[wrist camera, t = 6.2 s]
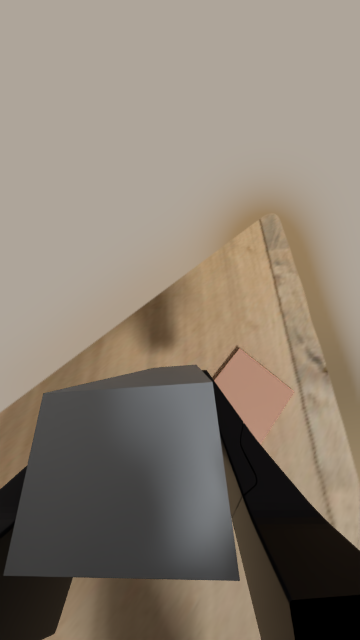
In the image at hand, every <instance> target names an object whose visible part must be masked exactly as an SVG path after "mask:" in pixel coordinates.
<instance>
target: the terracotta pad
mask: <svg viewBox="0 0 360 640" xmlns="http://www.w3.org/2000/svg"><path fill="white" fill-rule="evenodd" d="M214 381H215V383H216V384H217V385H218V387H219V388H220V390H221V391H222V392H223V394H224V395H225V397H226V398H227V399H228V401H229V402H230V404H231V405H232V406H233V408H234V409H235V411H236V412H237V413H238V415H239V416H240V418H241V419H242V420H243V423H245V424H246V426H247V427H248V429H249V430H250V431H251V433H252V434H253V435H254V437H255V438H256V439H257V441H258V442H259V443H260V445H261V443H262V442H263V440H264V439H265V437H266V435H267V434H268V432H269V431H270V429H271V428H272V426H273V425H274V423H275V421H276V420H277V418H278V417H279V415H280V414H281V412H282V411H283V409H284V407H285V406H286V404H287V403H288V401H289V400H290V398H291V396H292V395H293V393H294V391H293V390H292V389H291V388H289V387H288V386H287V385H286V384H284V383H283V382H282V381H280V380H279V379H278V378H277V377H275V376H274V375H273V374H272V373H270V372H269V371H268V370H267V369H265V368H264V367H263V366H262V365H260V364H259V363H258V362H257V361H255V360H254V359H253V358H252V357H250V356H249V355H248V354H246V353H245V352H244V351H243V350H241V349H240V348H239V349H238V350H237V351H236V353H235V354H234V355H233V356H232V358H231V359H230V360H229V362H228V363H227V364H226V365H225V367H224V368H223V369H222V371H221V372H220V373H219V374H218V376H217V377H216V378H215V379H214Z"/></svg>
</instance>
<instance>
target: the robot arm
mask: <svg viewBox="0 0 360 640" xmlns="http://www.w3.org/2000/svg"><path fill="white" fill-rule="evenodd" d="M202 371H203V372H204V374H205V375H206V376H207V377H208V378H209V379H210V380H211V381H212V382H213V389H214V396H215V403H216V411H217V418H218V425H219V432H220V440H221V447H222V454H223V462H224V469H225V476H226V484H227V491H228V498H229V505H230V513H231V517H232V522H233V526H234V530H235V534H236V538H237V542H238V546H239V550H240V555H241V559H242V563H243V567H244V571H245V575H246V579H247V583H248V587H249V591H250V595H251V600H252V604H253V608H254V612H255V616H256V620H257V624H258V628H259V632H260V636H261V640H360V550H358V549H357V548H356V547H355V546H354V545H353V544H352V543H351V542H349V541H348V540H347V539H346V538H345V537H344V536H343V535H342V534H341V533H339V532H338V531H337V530H336V529H335V528H334V527H333V526H332V525H331V524H330V523H329V522H328V521H326V520H325V519H324V518H323V517H322V516H321V514H320V513H319V512H318V511H317V510H316V509H315V508H314V507H313V506H312V505H311V504H310V503H309V502H308V500H307V499H306V498H305V497H304V496H303V495H302V494H301V492H300V491H299V490H298V489H297V488H296V486H295V485H294V484H293V483H292V482H291V481H290V479H289V478H288V477H287V476H286V475H285V473H284V472H283V471H282V470H281V469H280V468H279V466H278V465H277V464H276V463H275V462H274V460H273V459H272V458H271V457H270V456H269V454H268V453H267V452H266V451H265V449H264V448H263V447H262V446H261V445H260V443H259V442H258V441H257V439H256V438H255V437H254V435H253V434H252V433H251V431H250V430H249V429H248V427H247V426H246V424H245V423H243V420H242V419H241V418H240V416H239V415H238V413H237V412H236V411H235V409H234V408H233V406H232V405H231V404H230V402H229V401H228V399H227V398H226V397H225V395H224V394H223V392H222V391H221V390H220V388H219V387H218V385H217V384H216V383H215V381H214V380H213V378H212V377H211V376H210V374H209V373H208V371H207V370H202ZM27 466H28V465H27ZM27 466H26V467H25V468H24V469H23V470H21V471H20V472H19V473H18V474H17V475H16V476H15V477H14V478H12V479H11V480H10V481H9V482H8V483H7V484H6V485H5V486H3V487H2V488H1V489H0V640H42V639H44V638H46V637H49V636H51V635H53V634H55V631H56V628H57V626H58V623H59V620H60V617H61V613H62V610H63V607H64V604H65V601H66V597H67V594H68V591H69V588H70V585H71V581H72V578H73V577H43V576H3V575H4V570H5V566H6V561H7V557H8V552H9V547H10V543H11V538H12V534H13V529H14V525H15V520H16V516H17V511H18V506H19V502H20V497H21V493H22V488H23V484H24V479H25V475H26V470H27Z"/></svg>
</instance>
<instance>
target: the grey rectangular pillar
mask: <svg viewBox="0 0 360 640" xmlns="http://www.w3.org/2000/svg"><path fill="white" fill-rule="evenodd" d="M3 576H43V577H89V578H136V579H182V580H229V581H240V578H239V571H238V564H237V557H236V549H235V542H234V535H233V527H232V520H231V513H230V505H229V498H228V491H227V484H226V476H225V469H224V462H223V454H222V447H221V440H220V432H219V425H218V418H217V411H216V403H215V396H214V389H213V382H212V381H211V380H210V379H209V378H208V377H207V376H206V375H205V374H204V372H203V371H202V370H201V369H200V368H199V367H198V366H197V365H185V366H172V367H159V368H151V369H147V370H143V371H138V372H134V373H130V374H125V375H121V376H117V377H112V378H108V379H104V380H99V381H95V382H91V383H86V384H82V385H78V386H73V387H69V388H65V389H60V390H56V391H52V392H47V393H43V397H42V402H41V406H40V411H39V415H38V420H37V425H36V429H35V434H34V438H33V443H32V447H31V452H30V456H29V461H28V466H27V470H26V475H25V479H24V484H23V488H22V493H21V497H20V502H19V506H18V511H17V516H16V520H15V525H14V529H13V534H12V538H11V543H10V547H9V552H8V557H7V561H6V566H5V570H4V575H3Z"/></svg>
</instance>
